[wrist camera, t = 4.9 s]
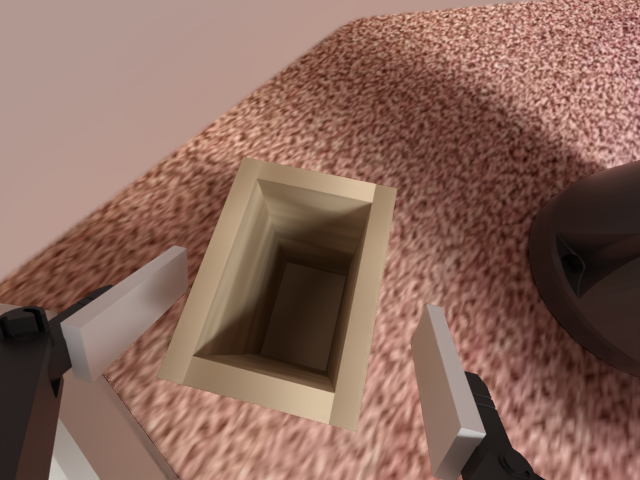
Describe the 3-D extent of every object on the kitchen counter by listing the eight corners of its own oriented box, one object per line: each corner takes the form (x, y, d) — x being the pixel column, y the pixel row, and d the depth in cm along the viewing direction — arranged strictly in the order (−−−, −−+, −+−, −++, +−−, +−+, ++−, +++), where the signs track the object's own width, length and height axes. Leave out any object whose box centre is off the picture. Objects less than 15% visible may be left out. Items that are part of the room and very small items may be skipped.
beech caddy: (357, 270, 22) (397, 188, 11) (334, 386, 20) (356, 431, 8) (280, 253, 23) (243, 156, 12) (247, 363, 20) (156, 377, 9)
